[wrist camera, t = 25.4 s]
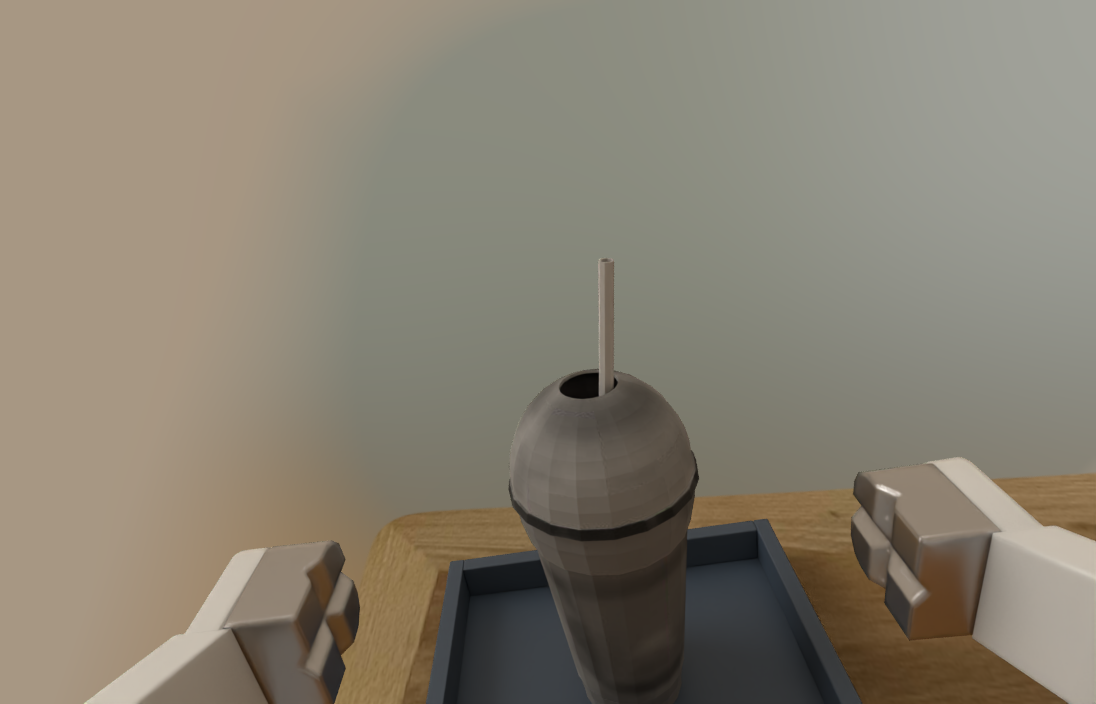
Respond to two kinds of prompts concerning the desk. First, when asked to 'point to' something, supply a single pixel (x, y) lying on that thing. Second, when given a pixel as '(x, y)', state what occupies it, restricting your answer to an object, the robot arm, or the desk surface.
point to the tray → (709, 643)
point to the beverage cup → (610, 519)
